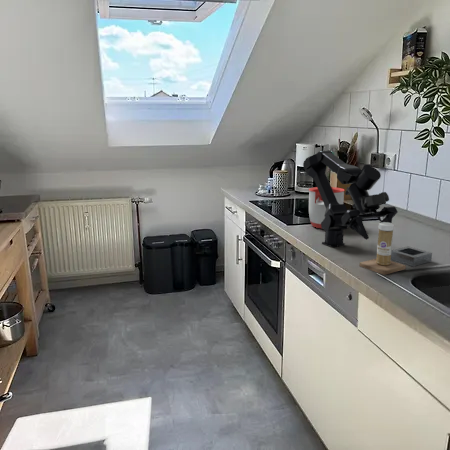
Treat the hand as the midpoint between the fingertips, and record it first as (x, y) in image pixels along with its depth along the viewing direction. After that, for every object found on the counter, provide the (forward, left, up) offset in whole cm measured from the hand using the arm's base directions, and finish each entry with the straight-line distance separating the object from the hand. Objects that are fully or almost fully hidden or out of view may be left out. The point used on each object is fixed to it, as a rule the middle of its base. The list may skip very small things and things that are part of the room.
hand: (379, 237), depth 138 cm
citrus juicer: (-49, +22, -10) cm, 55 cm away
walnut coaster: (+2, -1, -9) cm, 10 cm away
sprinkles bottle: (+2, 0, -8) cm, 9 cm away
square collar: (+2, +13, -9) cm, 17 cm away
